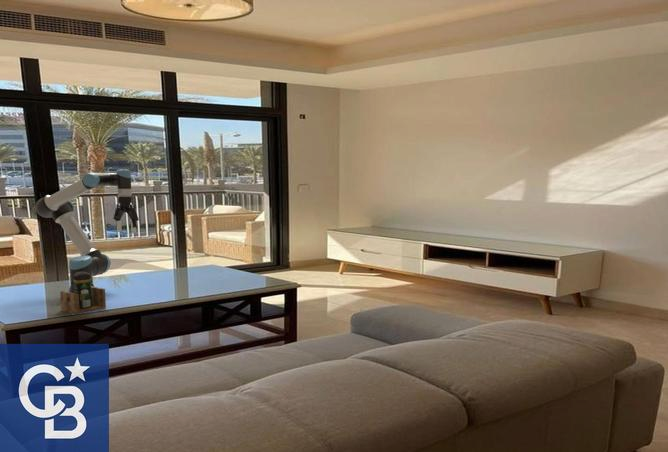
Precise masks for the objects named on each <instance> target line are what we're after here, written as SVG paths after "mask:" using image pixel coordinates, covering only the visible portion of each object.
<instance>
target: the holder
mask: <svg viewBox="0 0 668 452" xmlns="http://www.w3.org/2000/svg"><path fill="white" fill-rule="evenodd" d="M59 292H60V309H61V312H64V311H66V312H65V313H69V312H70V314H72V315H73V314H74V315H80V313H81V314H84V313H85V312H86V313H89V311H90V312H93V311H97V310H103V309H106V308H107V307H106V306H107V304H106V303H107V302H106V301H107V300H106V288H103V287H98V286H94V287H93V286H91V294H92V306H91V307H88V308H84V309H83V308H79V294H76V293H71V292H69V291H65V290H60V291H59Z"/></svg>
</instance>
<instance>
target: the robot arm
mask: <svg viewBox="0 0 668 452" xmlns="http://www.w3.org/2000/svg"><path fill="white" fill-rule="evenodd" d="M97 187H117V195H118V197H117V202H118V203H117V204H115V211H114V215H113V220H115V222H116V223H115V225H116V233H121V232H123V229H122V217H123V215H124V214H125V213H126V214H127V216H128V217H129V219H130V232H131V234H135V233H137V221H139V216H138V214H137V211H136V207H135V204H132V202H133V197H132V195H133V192H132V191H133V190H132V173H131V170H130V169H117V170H116V172H115V173H113V172H87V173H85V174H84V175H83V176H82V178H81V179H79V180H77V181H75V182H73V183H72V184H69V185H68V186H66V187H65V188H62V189H60V190H59V191H57V192H54V193H53V194H51V195H49V194H47V195H45V196H43V197H42V198H40V199H38V201H36V202H35V206H34V207H35V212H36V213H37V214H38V215H39V217H40V216H41V217H42V218H46V219H47V218H49V219H50V218H52V219H53V221H54V222H55V223H56V224H59V225H61V227H62V229H63V231H64V232H65V234H66V235H67V237H68V238H69V240H70V242H71V243H72V244H73V246H74V247H75V249H76V250H77V252H78V253H79V254H80V256H74V257H71V259H70V260H69V261H68V262H69V264H68V265H69V266H68V268H69V284H70V286H69V288H68V292H71V293H74V274H75V273H77V272H82V271H85V272H87V273H89V274H90V275H91V276H90V277H91V286H93V287H95V285H94V277H96V276H101V275H103V274H105V273H107V272H108V271H109V270H110V268H111V259H110V257H109V256H108V255H107V254H105V253H101V251H100V249H98V248H95V246H94V245H93V243H92V242H91V240H90V239H89V237H88V235H86V233H85V231H84V229H83V228H82V227H81V225H80V224H79V222H78V221H77V219H76V217H74V216H75V212H74V211H75V209H74V208H75V205H74V203H73V202H72V201H73V200H74V199H77V198H78V197H79V196H81V195H83V194H85V193H87V192H89V191H91V190H92V189H95V188H97Z"/></svg>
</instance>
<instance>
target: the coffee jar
mask: <svg viewBox="0 0 668 452" xmlns="http://www.w3.org/2000/svg"><path fill="white" fill-rule="evenodd" d="M90 276H91V275H90V274H89V273H87V272H85V271H82V272H77V273H75V274H74V293H76V294H79V308H83V309H84V308H88V307H91V306H92V294H91V277H90Z"/></svg>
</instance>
